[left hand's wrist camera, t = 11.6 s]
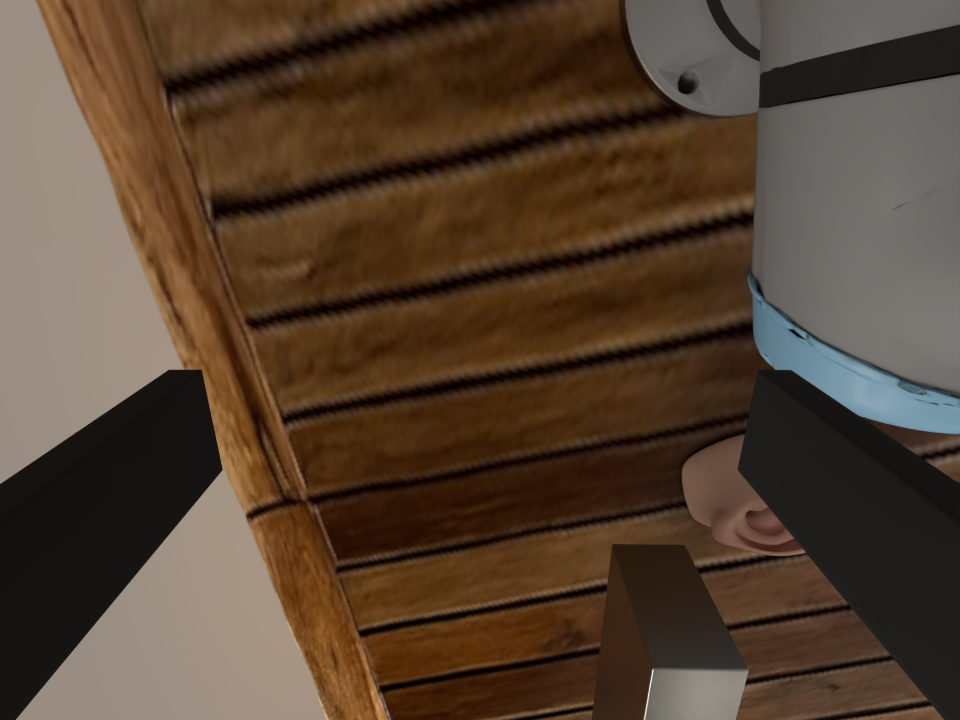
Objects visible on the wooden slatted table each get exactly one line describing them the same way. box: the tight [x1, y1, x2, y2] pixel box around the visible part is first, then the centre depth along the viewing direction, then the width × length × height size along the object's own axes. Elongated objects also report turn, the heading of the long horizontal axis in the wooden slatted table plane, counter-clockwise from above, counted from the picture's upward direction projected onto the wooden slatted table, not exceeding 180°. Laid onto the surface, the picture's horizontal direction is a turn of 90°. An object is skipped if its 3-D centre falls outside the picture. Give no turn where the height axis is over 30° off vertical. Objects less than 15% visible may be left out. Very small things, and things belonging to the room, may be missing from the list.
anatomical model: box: [682, 434, 806, 556], centre depth 45 cm, size 13×4×12 cm
